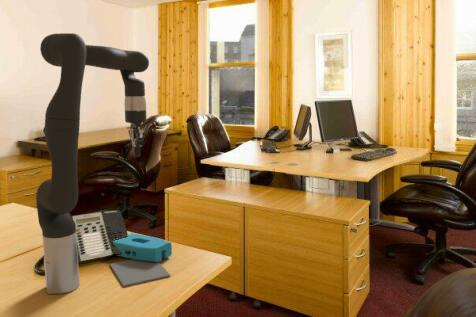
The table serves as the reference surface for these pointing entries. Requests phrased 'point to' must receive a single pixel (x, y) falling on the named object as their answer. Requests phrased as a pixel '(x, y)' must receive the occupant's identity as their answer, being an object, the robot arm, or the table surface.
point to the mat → (138, 271)
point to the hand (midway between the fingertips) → (137, 156)
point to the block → (143, 247)
